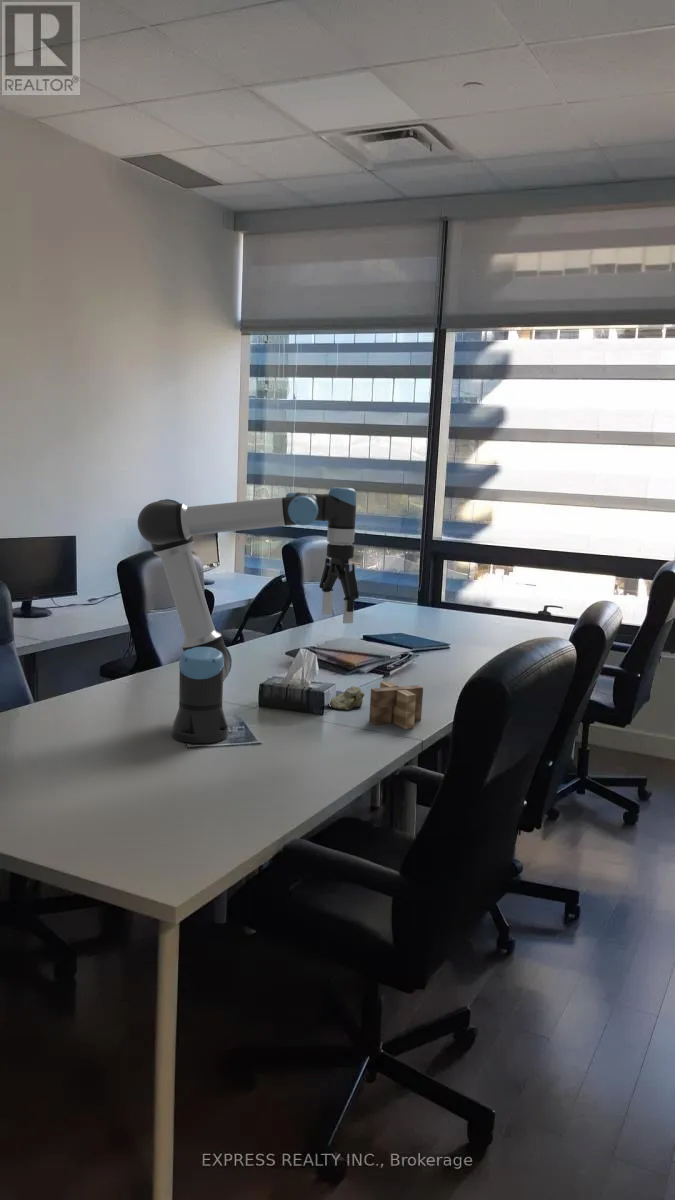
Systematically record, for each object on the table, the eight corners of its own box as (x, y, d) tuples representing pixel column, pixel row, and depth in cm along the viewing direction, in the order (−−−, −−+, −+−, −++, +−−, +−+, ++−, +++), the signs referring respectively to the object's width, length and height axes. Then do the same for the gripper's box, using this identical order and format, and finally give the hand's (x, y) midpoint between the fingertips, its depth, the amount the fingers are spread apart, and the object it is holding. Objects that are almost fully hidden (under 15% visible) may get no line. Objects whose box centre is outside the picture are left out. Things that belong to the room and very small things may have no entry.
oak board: (404, 729, 261) (406, 695, 259) (378, 713, 275) (380, 681, 273) (413, 728, 262) (415, 694, 260) (387, 713, 276) (389, 681, 274)
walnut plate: (373, 724, 263) (375, 691, 262) (369, 721, 266) (370, 688, 265) (421, 720, 270) (423, 687, 269) (416, 717, 273) (418, 685, 271)
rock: (322, 710, 280) (348, 712, 274) (320, 690, 279) (347, 691, 274) (341, 704, 289) (368, 705, 283) (340, 685, 288) (366, 685, 283)
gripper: (373, 548, 241) (369, 626, 245) (333, 538, 263) (330, 610, 267) (348, 548, 238) (344, 627, 241) (310, 538, 260) (307, 611, 264)
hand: (337, 618), depth 254 cm, fingers open, 13 cm apart
